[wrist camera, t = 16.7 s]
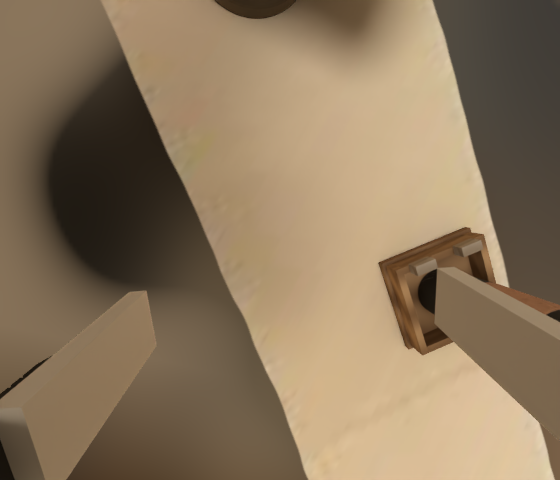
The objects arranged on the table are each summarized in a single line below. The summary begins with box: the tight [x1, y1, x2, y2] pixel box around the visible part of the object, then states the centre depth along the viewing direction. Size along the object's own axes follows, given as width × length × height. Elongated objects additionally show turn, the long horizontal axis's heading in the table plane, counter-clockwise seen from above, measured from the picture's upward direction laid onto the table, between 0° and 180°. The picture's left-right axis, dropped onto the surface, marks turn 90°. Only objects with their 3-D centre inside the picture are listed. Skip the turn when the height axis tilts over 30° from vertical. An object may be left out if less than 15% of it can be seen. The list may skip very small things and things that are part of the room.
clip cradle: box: [379, 227, 496, 355], centre depth 44 cm, size 15×15×6 cm
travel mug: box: [418, 269, 560, 320], centre depth 36 cm, size 8×8×20 cm
